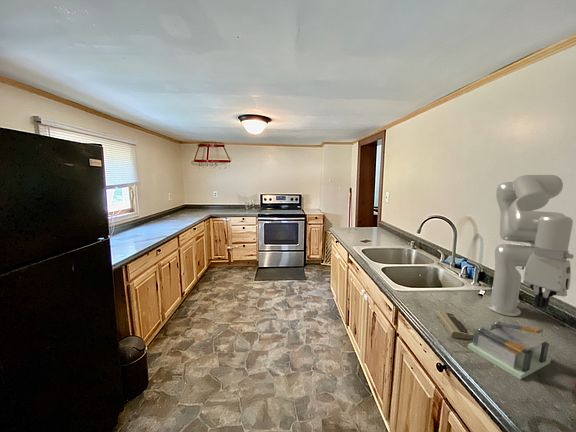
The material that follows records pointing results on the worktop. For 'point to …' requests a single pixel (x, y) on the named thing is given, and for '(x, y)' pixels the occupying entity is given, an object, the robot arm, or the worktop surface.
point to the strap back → (519, 327)
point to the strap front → (503, 340)
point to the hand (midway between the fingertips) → (540, 306)
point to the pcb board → (515, 372)
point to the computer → (454, 325)
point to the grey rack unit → (508, 353)
